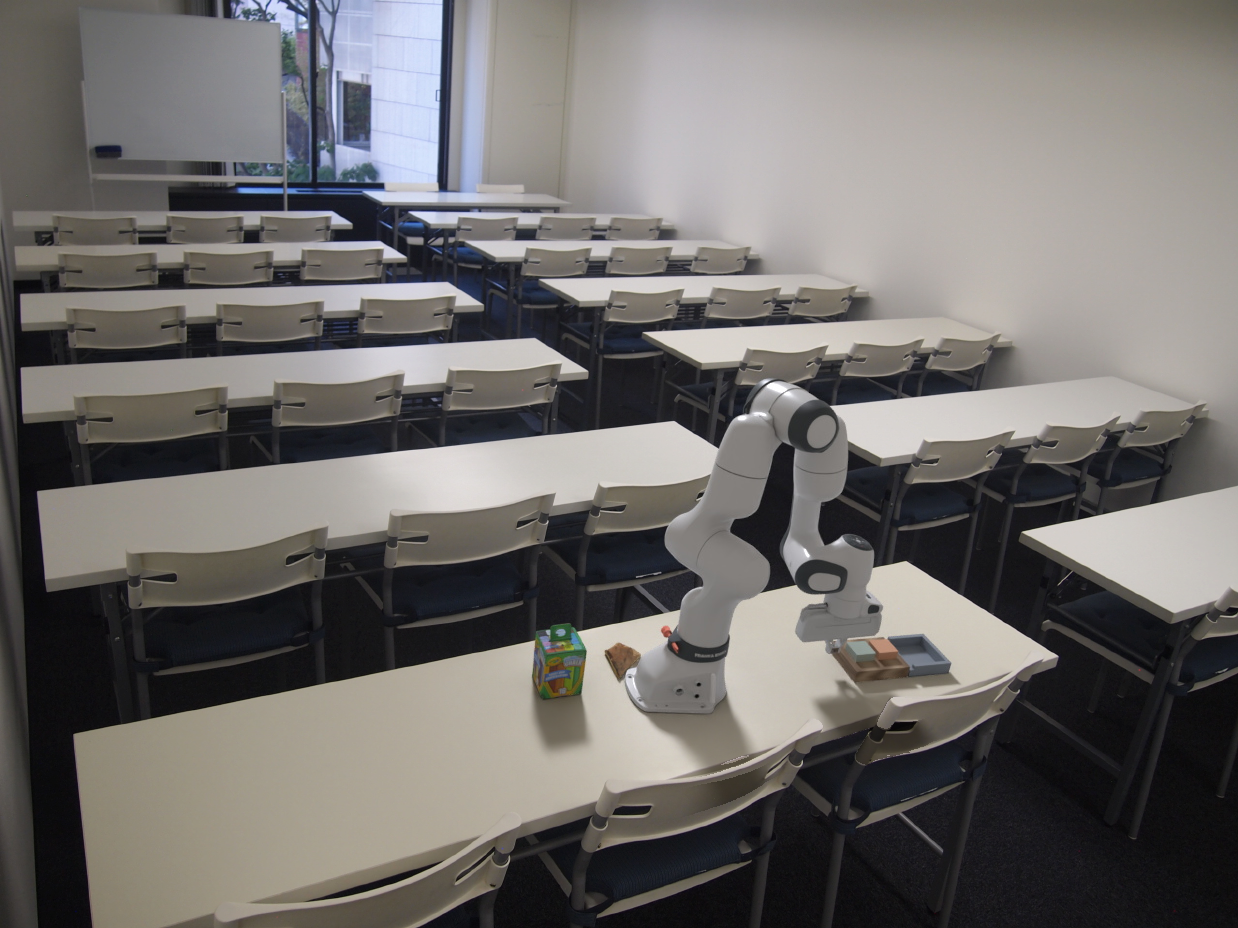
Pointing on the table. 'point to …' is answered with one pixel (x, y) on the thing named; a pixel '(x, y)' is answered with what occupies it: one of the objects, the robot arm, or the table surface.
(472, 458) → the table surface
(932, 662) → the tray
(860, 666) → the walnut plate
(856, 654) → the sage tile
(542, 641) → the chalk box
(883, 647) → the terracotta tile
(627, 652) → the shard
